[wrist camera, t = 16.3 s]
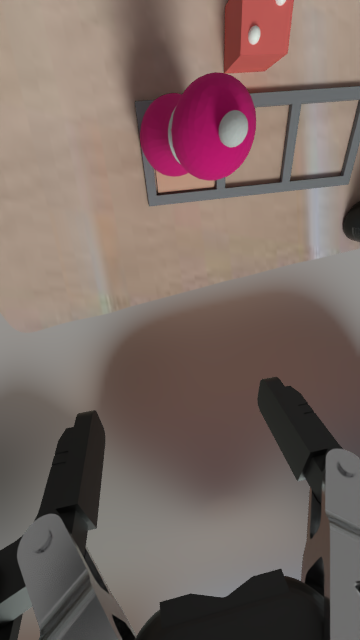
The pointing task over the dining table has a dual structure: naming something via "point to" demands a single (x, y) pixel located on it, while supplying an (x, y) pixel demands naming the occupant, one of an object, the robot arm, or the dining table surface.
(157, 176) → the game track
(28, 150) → the dining table surface
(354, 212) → the supplement bottle
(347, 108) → the dining table surface
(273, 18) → the die
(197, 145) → the pepper mill
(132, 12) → the dining table surface
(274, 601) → the robot arm
